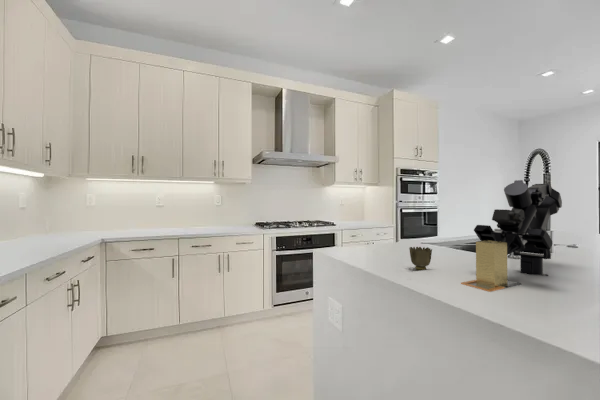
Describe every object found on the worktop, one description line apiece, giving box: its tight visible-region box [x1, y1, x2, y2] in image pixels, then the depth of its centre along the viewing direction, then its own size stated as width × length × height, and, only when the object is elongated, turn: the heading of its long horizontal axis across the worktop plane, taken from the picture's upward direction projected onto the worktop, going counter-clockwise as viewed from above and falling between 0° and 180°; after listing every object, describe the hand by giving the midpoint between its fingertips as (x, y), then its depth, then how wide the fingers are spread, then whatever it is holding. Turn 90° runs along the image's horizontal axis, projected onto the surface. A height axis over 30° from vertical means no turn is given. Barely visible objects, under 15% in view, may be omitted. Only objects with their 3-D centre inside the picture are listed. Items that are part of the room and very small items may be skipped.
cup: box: [408, 246, 433, 272], centre depth 100 cm, size 8×7×8 cm
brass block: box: [475, 240, 508, 288], centre depth 80 cm, size 6×5×12 cm
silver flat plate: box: [460, 279, 523, 293], centre depth 80 cm, size 15×8×1 cm, turn 115°
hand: (498, 257), depth 81 cm, fingers closed
